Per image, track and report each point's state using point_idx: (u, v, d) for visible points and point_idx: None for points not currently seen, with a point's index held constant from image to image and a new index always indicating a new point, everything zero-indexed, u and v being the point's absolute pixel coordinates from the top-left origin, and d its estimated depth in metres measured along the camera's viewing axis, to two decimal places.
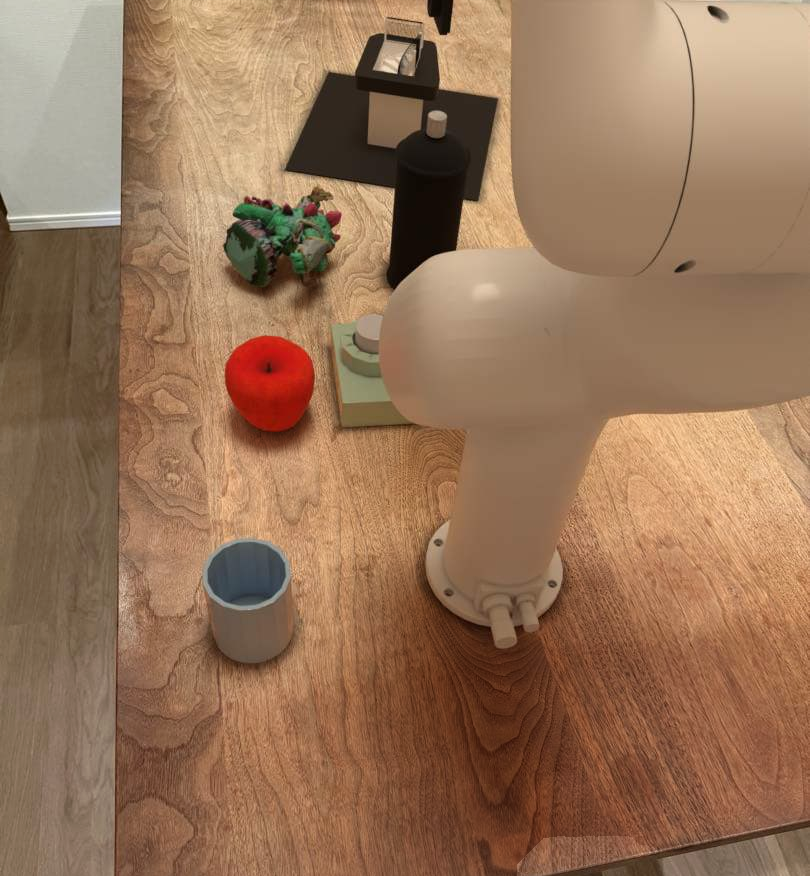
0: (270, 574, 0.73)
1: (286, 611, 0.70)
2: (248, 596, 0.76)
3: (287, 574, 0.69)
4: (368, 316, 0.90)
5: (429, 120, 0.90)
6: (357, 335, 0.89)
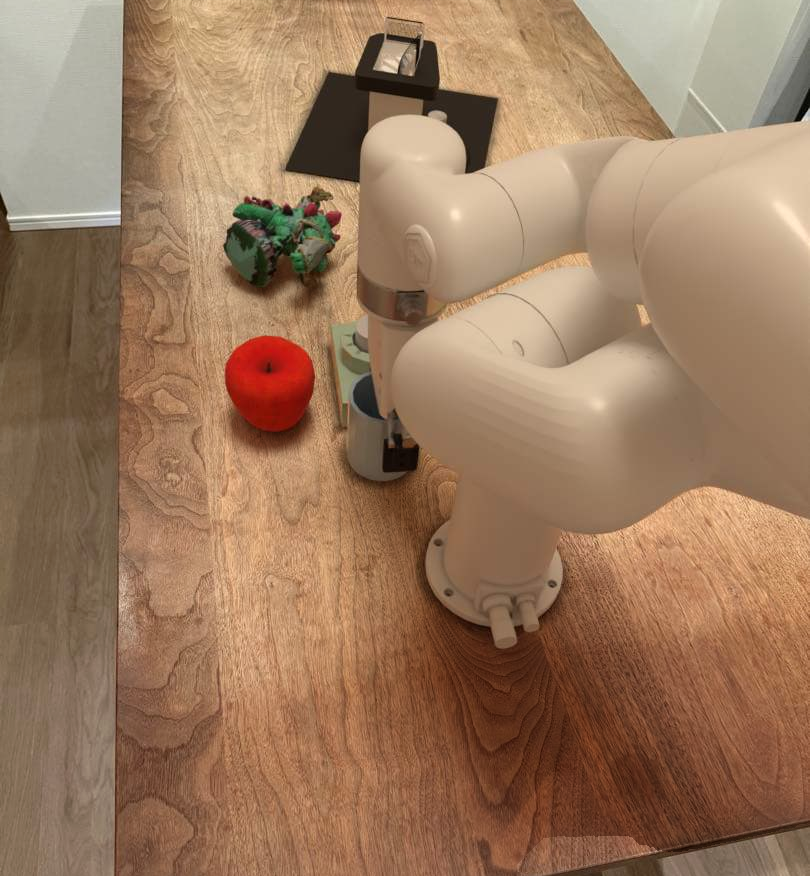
0: None
1: None
2: None
3: None
4: None
5: None
6: (357, 335, 0.89)
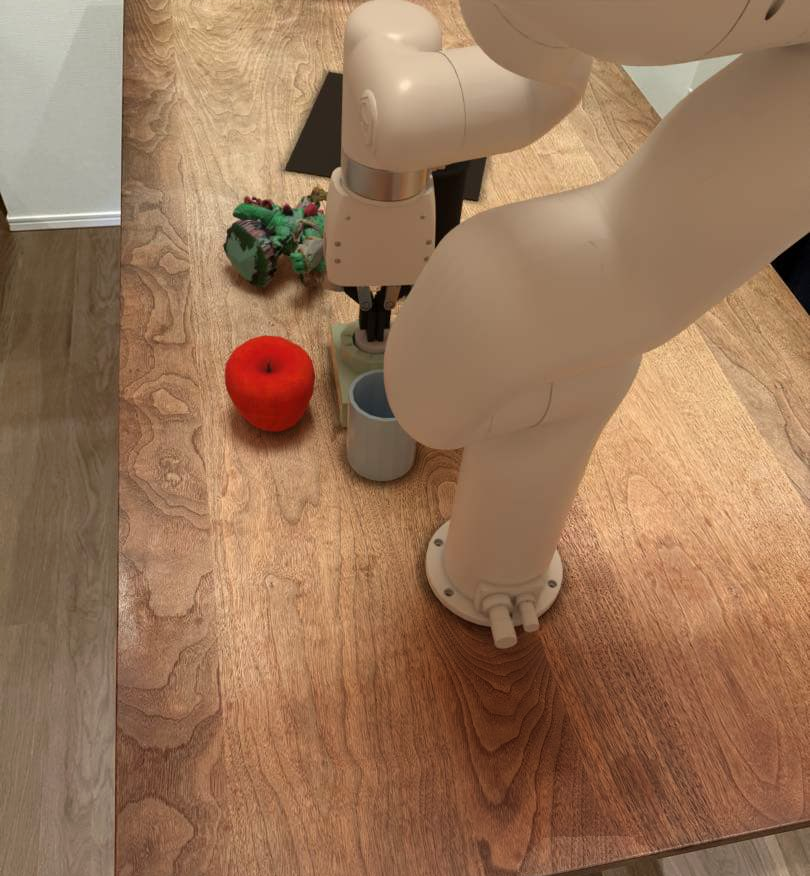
0: None
1: None
2: None
3: None
4: None
5: None
6: (357, 343, 0.89)
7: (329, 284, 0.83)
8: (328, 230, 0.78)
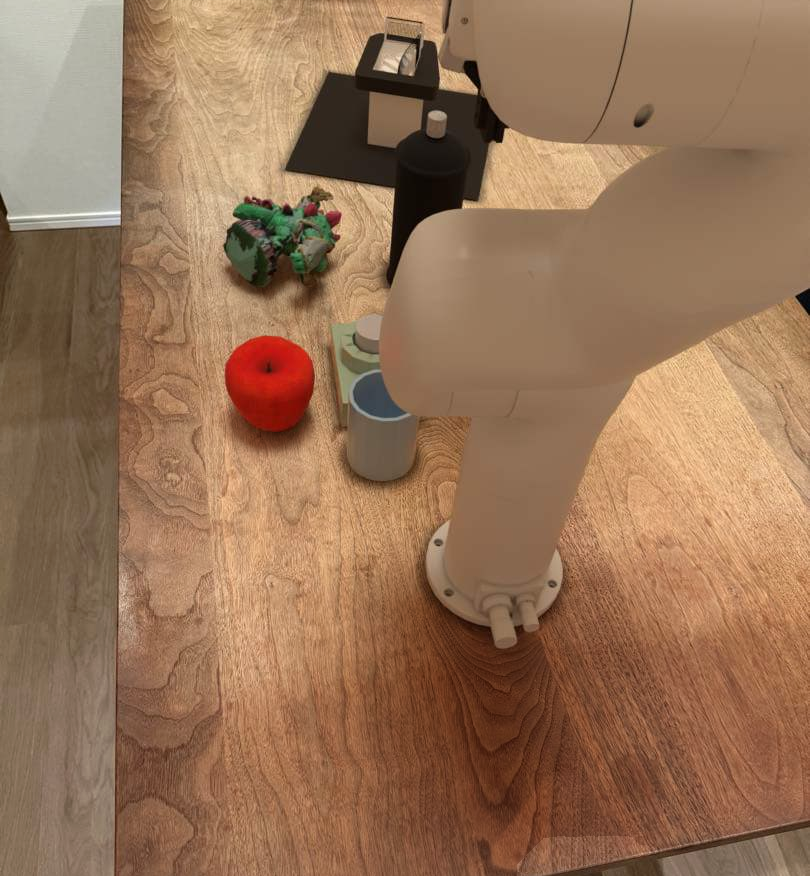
0: None
1: (415, 431, 0.83)
2: None
3: None
4: (368, 316, 0.90)
5: (429, 120, 0.90)
6: (357, 335, 0.89)
7: (448, 61, 0.72)
8: None
